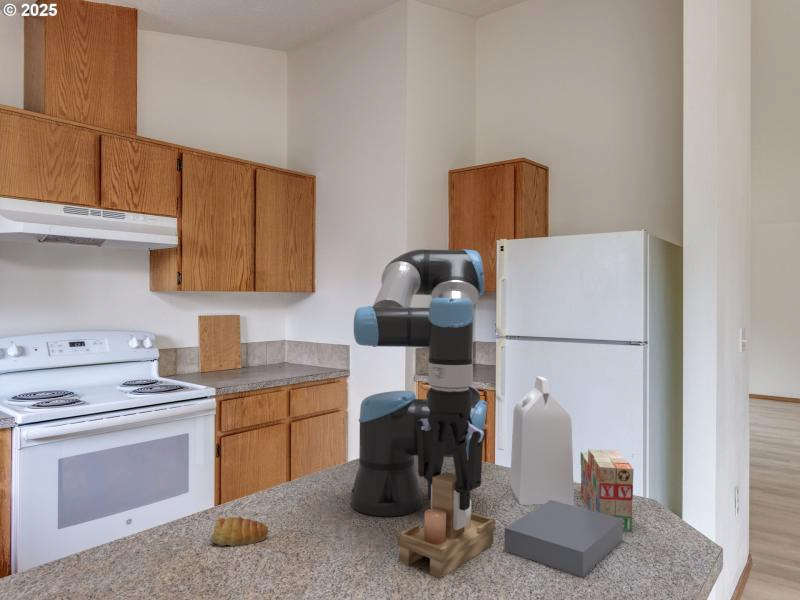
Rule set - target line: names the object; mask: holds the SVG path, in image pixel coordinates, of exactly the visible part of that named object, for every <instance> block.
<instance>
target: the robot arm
mask: <svg viewBox="0 0 800 600" xmlns="http://www.w3.org/2000/svg"><path fill="white" fill-rule="evenodd" d="M484 293H485V276H484V265H483V260H482V257H481V254H480V253H479V252H478V251H477V250H475V249H474V250H473V249H465V248H461V249H425V248H424V249H423V248H422V249H415V250H414V249H413V250H410V251H407V252H405V253H403V254H401V255H399V256H397V257H395V258H393V259H392V260H391V261H389V263H387V265H386V266H385V267H384V269H383V272H382V274H381V286H380V289H379V291H378V293H377V296H376V298H375V300H374V302H373V304H372V306H371V305H367V306H359V307H358V308H357V309H356V310H355V312H354V317H353V318H354V319H353V337H354V340H355V343H357V344H358V345H359V346H367V347H373V348H377V347H390V348H391V347H392V348H393V347H395V348H396V347H397V348H398V347H405V348H406V347H407V348H410V347H412V348H428V375H427V377H428V378H427V379H428V380H427V383H428V385H429V386H430V388H429V389H427V392H426V399H425V398H422V399H421V398H417V396H416V394H415V391H411V390H393V391H385V392H379V393H375V394H372V395H369V396H366V397H365V398H364V399H363V400H362V401H361V403H360V410H359V418H358V422H359V453H358V455H359V457H358V458H359V464H358V469H357V472H356V475H355V479H354V483H353V487H352V488H351V491H350V506H351V507H352V508H353V509H354V511H357V512H359V513H362V514H366V515H368V516H369V515H370V516H377V517H399V516H404V515H408V514H411V513H414V512H416V511H417V510H419V509H420V508H421V507H422V506H423V493H422V490H421V487H420V484H419V480H418V477H417V474H418V476H419V477H421V478H424V479H425V480H426V482H427V498H428V501H430V509H432V477H434V476H437V475H440V474H442V470H443V463H444V459H445V458H453V464H454V471H455V472H454V474H456V479H457V486H458V488H457V489H455V490H454V509H453V529H454V530H459V529H461V528H463V527H464V526H466V510H467V509H469V507H470V499H471V491H473V490H475V489H477V488H479V487H481V486H482V465H483V449H484V448H483V447H484V446H483V445H484V441H485V438H486V436H487V431H486V429H485V427H486V417H487V412H488V411H487V410H488V409H487V408H488V402H487V401H485V400H483V399H482V400H481V393H480V391H479V390H478V389H477V388H476V387H474V358H473V357H474V355H473V354H474V353H473V351H474V349H473V347H474V345H473V344H474V343H473V341H474V340H473V336H474V318H475V317H474V308H473V307H474V305H475V304H477V302H478V300H479V297H480V296H482V295H484ZM416 295H418V296H419V295H421V296H431V300H430V301H429V307H411V304H412V301H413V298H414V297H413V296H416ZM415 456H417V464H418V465H417V466H418V469H417V471H416V469H415ZM417 472H418V473H417Z"/></svg>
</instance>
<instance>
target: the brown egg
mask: <svg viewBox="0 0 800 600" xmlns="http://www.w3.org/2000/svg"><path fill="white" fill-rule="evenodd" d="M424 526H425V529H424V540H425V541H426V542H427V543H430V544H442V543H444V542H446V512H445V511H444V510H441V509H431V508H429V509H426V510H425V511H424Z"/></svg>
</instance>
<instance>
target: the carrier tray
mask: <svg viewBox="0 0 800 600" xmlns="http://www.w3.org/2000/svg"><path fill="white" fill-rule="evenodd" d="M457 488H458V486H457V479H456V473H452V472H448V471H446V472H445V471H444V472H443V473H442V472H441V474H440V475H437V476H434V477H432V509H441V510H444V511H445V512H446V542H444V543H442V544H430V543H427V542H426V541H425V540H424V529H425V525H424V526H422V527H420V524H415V525H413V526H410V527H409V528H407V529H405V530H403V531H401V532H398V533H397V546H398V548H399V549H398V555H399V556H398V561H399V562H400V563H403V564H404V565H407V566H409V565H411V564H414V563H415V562H416V561H418V560H420V559H423V558H424V557H425V558H429V575H432V576H433V577H436V578H439V579H441V578H443V577H444V576H446V575H448V574H449V573H451V572H452V571H454V570H455V569H457V568H458V567H460V566H462V565H463V564H465V563H466V562H468V561H469V560H471V559H472V558H474V557H476V556H478V554H480V553H482V552H484V551H485V550H487V549H488V548H490V547H491V546H490V545H492V544H493V545H494V533H495V531H496V519H495V518H492V517H488V516H485V515H481V514H478V513H474V512H472V511H471V527H470V528H469V529H466V530H464V527H463V528H461V529H459V530H454V529H453V509H454V490H455V489H457ZM493 545H492V546H493ZM489 546H490V547H489ZM487 547H488V548H487ZM486 548H487V549H486ZM484 549H485V550H484ZM483 550H484V551H483ZM481 551H482V552H481Z"/></svg>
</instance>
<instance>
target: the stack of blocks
mask: <svg viewBox="0 0 800 600" xmlns="http://www.w3.org/2000/svg"><path fill="white" fill-rule="evenodd" d="M587 450H588V451H580V492H581V494H582V497H583V499H584V501H585V503H586V505H587V507H588V510H591V511H595V512H599V513H603V514H607V515H611V516H615V517H618V518H622V519H623V531H622V532H630V533H632V531H633V530H632V529H633V500H634V471H635V470H634V468H633V466H632V465H631V464H630V462H629V461H628V459H626V458H625V456H623V454H621V452H620V451H619V450H615V449H613V450H612V449H592V448H591V449H590V448H589V449H587Z"/></svg>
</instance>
